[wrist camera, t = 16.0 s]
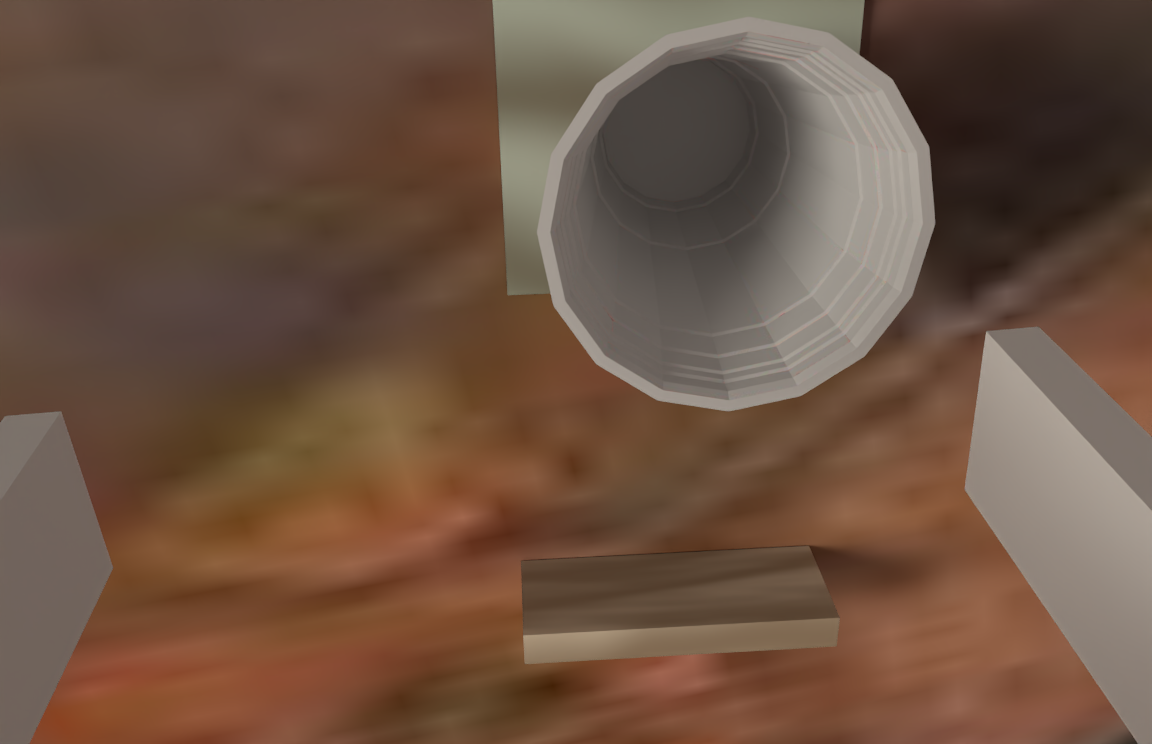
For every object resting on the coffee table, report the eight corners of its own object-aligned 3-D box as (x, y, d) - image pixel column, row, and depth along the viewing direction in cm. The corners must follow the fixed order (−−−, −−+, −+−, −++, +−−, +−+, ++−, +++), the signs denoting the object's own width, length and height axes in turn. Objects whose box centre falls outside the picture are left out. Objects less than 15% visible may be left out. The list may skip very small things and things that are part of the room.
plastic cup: (838, -37, 37) (973, 19, 27) (808, 258, 42) (913, 405, 32) (523, -33, 37) (533, 24, 26) (530, 265, 42) (540, 417, 31)
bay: (485, -147, 36) (483, -143, 31) (876, -156, 36) (929, -153, 32) (522, 587, 49) (524, 663, 45) (806, 572, 50) (836, 646, 45)
